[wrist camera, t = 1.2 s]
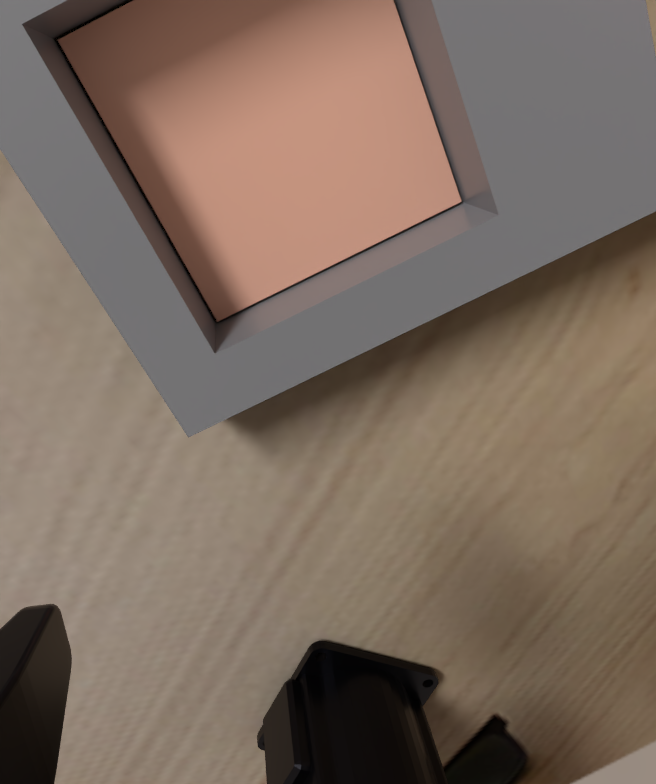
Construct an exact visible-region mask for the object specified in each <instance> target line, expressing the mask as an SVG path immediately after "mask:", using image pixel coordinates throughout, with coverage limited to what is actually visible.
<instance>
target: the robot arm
mask: <svg viewBox="0 0 656 784" xmlns="http://www.w3.org/2000/svg"><path fill="white" fill-rule="evenodd" d="M318 653H321V654H318ZM71 664H72V657H71V649H70V645H69V641H68V637H67V633H66V630H65V626H64V622H63V618H62V615H61V611H60V609H59V608H58V606H56V605H54V604H46V605H38V606H30V607H26V608H23V609H22V610H20V611H19V612H18V613H17V614H16V615H15V616H13V617H12V618H11V619H10V620H9V621H8V622H7V623H6V624H5V625H4V626H3V627H2V628H1V629H0V784H54V781H55V775H56V769H57V763H58V756H59V749H60V742H61V735H62V728H63V721H64V715H65V708H66V701H67V694H68V687H69V680H70V673H71ZM437 685H438V678H437V675H436V672H435V671H434V670H433V669H430V668H426V667H422V666H419V665H415V664H411V663H407V662H403V661H399V660H395V659H391V658H387V657H383V656H380V655H376V654H372V653H368V652H364V651H360V650H356V649H352V648H348V647H344V646H340V645H337V644H333V643H329V642H325V641H318V642H315V643H313V644H312V645H311V646H310V647H309V648H308V650H307V652H306V653H305V655H304V657H303V658H302V660H301V662H300V663H299V665H298V667H297V668H296V670H295V672H294V674H293V675H292V677H291V679H289V680H288V681H286V682H285V683H284V685H283V687H282V688H281V690H280V692H279V694H278V695H277V697H276V699H275V700H274V702H273V704H272V705H271V707H270V709H269V710H268V712H267V714H266V715H265V717H264V719H263V726H262V727H261V729H260V731H259V733H258V735H257V743H258V747H259V748H260V749H261V750H264V751H265V760H266V776H267V784H448V781H447V778H446V775H445V772H444V769H443V766H442V763H441V760H440V757H439V754H438V751H437V748H436V745H435V742H434V739H433V736H432V733H431V730H430V727H429V724H428V721H427V718H426V715H425V712H424V709H423V705H424V704H425V702H426V701H427V699H428V698H429V697H430V695H431V694H432V692H433V691H434V689H435V688H436V687H437Z"/></svg>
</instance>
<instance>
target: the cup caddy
mask: <svg viewBox="0 0 656 784" xmlns="http://www.w3.org/2000/svg"><path fill="white" fill-rule="evenodd" d="M127 1H129V0H0V150H1V151H2V153H3V154H4V156H5V157H6V159H7V160H8V162H9V163H10V165H11V166H12V168H13V169H14V171H15V173H16V174H17V176H18V177H19V179H20V180H21V182H22V183H23V185H24V186H25V188H26V189H27V191H28V192H29V194H30V196H31V197H32V199H33V200H34V202H35V203H36V205H37V206H38V208H39V209H40V211H41V212H42V214H43V215H44V217H45V219H46V220H47V222H48V223H49V225H50V226H51V228H52V229H53V231H54V232H55V234H56V235H57V237H58V238H59V240H60V241H61V243H62V245H63V246H64V248H65V249H66V251H67V252H68V254H69V255H70V257H71V258H72V260H73V261H74V263H75V264H76V266H77V268H78V269H79V271H80V272H81V274H82V275H83V277H84V278H85V280H86V281H87V283H88V284H89V286H90V287H91V289H92V291H93V292H94V294H95V295H96V297H97V298H98V300H99V301H100V303H101V304H102V306H103V307H104V309H105V310H106V312H107V314H108V315H109V317H110V318H111V320H112V321H113V323H114V324H115V326H116V327H117V329H118V330H119V332H120V333H121V335H122V337H123V338H124V340H125V341H126V343H127V344H128V346H129V347H130V349H131V350H132V352H133V353H134V355H135V356H136V358H137V359H138V361H139V363H140V364H141V366H142V367H143V369H144V370H145V372H146V373H147V375H148V376H149V378H150V379H151V381H152V382H153V384H154V386H155V387H156V389H157V390H158V392H159V393H160V395H161V396H162V398H163V399H164V401H165V402H166V404H167V405H168V407H169V409H170V410H171V412H172V413H173V415H174V416H175V418H176V419H177V421H178V422H179V424H180V425H181V427H182V428H183V430H184V432H185V433H186V435H187V436H188V437H190V436H192V435H194V434H196V433H199V432H201V431H203V430H205V429H207V428H209V427H211V426H213V425H215V424H217V423H219V422H221V421H223V420H225V419H228V418H230V417H232V416H234V415H236V414H238V413H240V412H242V411H244V410H246V409H248V408H250V407H252V406H254V405H256V404H259V403H261V402H263V401H265V400H267V399H269V398H271V397H273V396H275V395H277V394H279V393H281V392H283V391H285V390H287V389H290V388H292V387H294V386H296V385H298V384H300V383H302V382H304V381H306V380H308V379H310V378H312V377H314V376H316V375H318V374H321V373H323V372H325V371H327V370H329V369H331V368H333V367H335V366H337V365H339V364H341V363H343V362H345V361H347V360H350V359H352V358H354V357H356V356H358V355H360V354H362V353H364V352H366V351H368V350H370V349H372V348H374V347H376V346H378V345H381V344H383V343H385V342H387V341H389V340H391V339H393V338H395V337H397V336H399V335H401V334H403V333H405V332H407V331H409V330H412V329H414V328H416V327H418V326H420V325H422V324H424V323H426V322H428V321H430V320H432V319H434V318H436V317H438V316H440V315H443V314H445V313H447V312H449V311H451V310H453V309H455V308H457V307H459V306H461V305H463V304H465V303H467V302H469V301H472V300H474V299H476V298H478V297H480V296H482V295H484V294H486V293H488V292H490V291H492V290H494V289H496V288H498V287H500V286H503V285H505V284H507V283H509V282H511V281H513V280H515V279H517V278H519V277H521V276H523V275H525V274H527V273H529V272H531V271H534V270H536V269H538V268H540V267H542V266H544V265H546V264H548V263H550V262H552V261H554V260H556V259H558V258H560V257H562V256H565V255H567V254H569V253H571V252H573V251H575V250H577V249H579V248H581V247H583V246H585V245H587V244H589V243H591V242H594V241H596V240H598V239H600V238H602V237H604V236H606V235H608V234H610V233H612V232H614V231H616V230H618V229H620V228H622V227H625V226H627V225H629V224H631V223H633V222H635V221H637V220H639V219H641V218H643V217H645V216H647V215H649V214H651V213H653V212H656V56H655V51H654V45H653V39H652V34H651V28H650V22H649V17H648V11H647V5H646V0H133V1H131V2H129V3H127V4H125V5H124V6H122V7H120V8H118V9H116V10H114V11H112V12H110V13H108V14H106V15H104V16H102V17H100V18H99V19H97V20H95V21H93V22H91V23H89V24H87V25H85V26H83V27H81V28H79V29H77V30H76V31H74V32H72V33H70V34H68V35H66V36H64V37H62V38H60V39H58V42H59V44H60V45H61V47H62V49H63V51H64V52H65V54H66V56H67V58H68V59H69V61H70V63H71V65H72V66H73V68H74V70H75V72H76V74H77V75H78V77H79V79H80V81H81V82H82V84H83V86H84V88H85V89H86V91H87V93H88V95H89V96H90V98H91V100H92V102H93V103H94V105H95V107H96V109H97V110H98V112H99V114H100V116H101V118H102V119H103V121H104V123H105V125H106V126H107V128H108V130H109V132H110V133H111V135H112V137H113V139H114V140H115V142H116V144H117V146H118V147H119V149H120V151H121V153H122V154H123V156H124V158H125V160H126V162H127V163H128V165H129V167H130V169H131V170H132V172H133V174H134V176H135V177H136V179H137V181H138V183H139V184H140V186H141V188H142V190H143V191H144V193H145V195H146V197H147V198H148V200H149V202H150V204H151V206H152V207H153V209H154V211H155V213H156V214H157V216H158V218H159V220H160V221H161V223H162V225H163V227H164V228H165V230H166V232H167V234H168V235H169V237H170V239H171V241H172V242H173V244H174V246H175V248H176V250H177V251H178V253H179V255H180V257H181V258H182V260H183V262H184V264H185V265H186V267H187V269H188V271H189V272H190V274H191V276H192V278H193V279H194V281H195V283H196V285H197V286H198V288H199V290H200V292H201V294H202V295H203V297H204V299H205V301H206V302H207V304H208V306H209V308H210V309H211V311H212V313H213V315H214V316H215V318H216V320H217V323H216V321H215V320H214V318H213V316H212V314H211V313H210V311H209V309H208V307H207V306H206V304H205V302H204V300H203V299H202V297H201V295H200V293H199V291H198V290H197V288H196V286H195V284H194V283H193V281H192V279H191V277H190V276H189V274H188V272H187V270H186V269H185V267H184V265H183V263H182V262H181V260H180V258H179V256H178V255H177V253H176V251H175V249H174V248H173V246H172V244H171V242H170V241H169V239H168V237H167V235H166V234H165V232H164V230H163V228H162V227H161V225H160V223H159V221H158V219H157V218H156V216H155V214H154V212H153V211H152V209H151V207H150V205H149V204H148V202H147V200H146V198H145V197H144V195H143V193H142V191H141V190H140V188H139V186H138V184H137V183H136V181H135V179H134V177H133V176H132V174H131V172H130V170H129V169H128V167H127V165H126V163H125V162H124V160H123V158H122V156H121V155H120V153H119V151H118V149H117V148H116V146H115V144H114V142H113V140H112V139H111V137H110V135H109V133H108V132H107V130H106V128H105V126H104V125H103V123H102V121H101V119H100V118H99V116H98V114H97V112H96V111H95V109H94V107H93V105H92V104H91V102H90V100H89V98H88V97H87V95H86V93H85V91H84V90H83V88H82V86H81V84H80V83H79V81H78V79H77V77H76V76H75V74H74V72H73V70H72V69H71V67H70V65H69V63H68V61H67V60H66V58H65V56H64V54H63V53H62V51H61V49H60V47H59V46H58V44H57V42H56V40H55V39H56V38H58V37H59V36H61V35H63V34H65V33H67V32H69V31H71V30H73V29H75V28H77V27H79V26H81V25H82V24H84V23H86V22H88V21H90V20H92V19H94V18H96V17H98V16H100V15H102V14H104V13H106V12H107V11H109V10H111V9H113V8H115V7H117V6H119V5H121V4H123V3H125V2H127ZM394 2H395V3H394ZM395 4H396V6H395ZM396 7H397V9H396ZM397 10H398V12H397ZM398 13H399V15H398ZM399 16H400V18H399ZM400 19H401V21H400ZM401 22H402V24H401ZM402 25H403V27H402ZM403 28H404V30H403ZM404 31H405V33H404ZM405 34H406V36H405ZM406 37H407V39H406ZM407 40H408V42H407ZM408 43H409V44H408ZM409 46H410V47H409ZM410 49H411V50H410ZM411 52H412V53H411ZM412 55H413V56H412ZM413 58H414V59H413ZM414 61H415V62H414ZM415 64H416V65H415ZM416 67H417V68H416ZM417 70H418V71H417ZM418 73H419V74H418ZM419 75H420V77H419ZM420 78H421V80H420ZM421 81H422V83H421ZM422 84H423V86H422ZM423 87H424V89H423ZM424 90H425V92H424ZM425 93H426V95H425ZM426 96H427V98H426ZM427 99H428V101H427ZM428 102H429V104H428ZM429 105H430V107H429ZM430 108H431V110H430ZM431 111H432V112H431ZM432 114H433V115H432ZM433 117H434V118H433ZM434 120H435V121H434ZM435 123H436V124H435ZM436 126H437V127H436ZM437 129H438V130H437ZM438 132H439V133H438ZM439 135H440V136H439ZM440 138H441V139H440ZM441 141H442V142H441ZM442 144H443V145H442ZM443 146H444V148H443ZM444 149H445V151H444ZM445 152H446V154H445ZM446 155H447V157H446ZM447 158H448V160H447ZM448 161H449V163H448ZM449 164H450V166H449ZM450 167H451V169H450ZM451 170H452V172H451ZM452 173H453V175H452ZM453 176H454V177H453ZM454 179H455V180H454ZM455 182H456V183H455ZM456 185H457V186H456ZM457 188H458V189H457ZM458 191H459V192H458ZM459 194H460V195H459ZM460 197H461V198H460ZM461 200H462V201H461ZM460 202H461V203H460ZM458 203H459V204H458ZM456 204H457V205H456ZM454 205H455V206H454ZM452 206H453V207H452ZM450 207H451V208H450ZM447 208H449V209H447ZM445 209H447V210H445ZM443 210H445V211H443ZM441 211H443V212H441ZM439 212H441V213H439ZM437 213H439V214H437ZM435 214H437V215H435ZM433 215H435V216H433ZM431 216H433V217H431ZM429 217H430V218H429ZM427 218H428V219H427ZM425 219H426V220H425ZM423 220H424V221H423ZM421 221H422V222H421ZM419 222H420V223H419ZM417 223H418V224H417ZM415 224H416V225H415ZM413 225H414V226H413ZM411 226H412V227H411ZM409 227H410V228H409ZM407 228H408V229H407ZM405 229H406V230H405ZM403 230H404V231H403ZM401 231H402V232H401ZM399 232H400V233H399ZM397 233H398V234H397ZM395 234H396V235H395ZM393 235H394V236H393ZM391 236H392V237H391ZM389 237H390V238H389ZM386 238H388V239H386ZM384 239H386V240H384ZM382 240H384V241H382ZM380 241H382V242H380ZM378 242H380V243H378ZM376 243H378V244H376ZM374 244H376V245H374ZM372 245H374V246H372ZM370 246H372V247H370ZM368 247H369V248H368ZM366 248H367V249H366ZM364 249H365V250H364ZM362 250H363V251H362ZM360 251H361V252H360ZM358 252H359V253H358ZM356 253H357V254H356ZM354 254H355V255H354ZM352 255H353V256H352ZM350 256H351V257H350ZM348 257H349V258H348ZM346 258H347V259H346ZM344 259H345V260H344ZM342 260H343V261H342ZM340 261H341V262H340ZM338 262H339V263H338ZM336 263H337V264H336ZM334 264H335V265H334ZM332 265H333V266H332ZM330 266H331V267H330ZM327 267H329V268H327ZM325 268H327V269H325ZM323 269H325V270H323ZM321 270H323V271H321ZM319 271H321V272H319ZM317 272H319V273H317ZM315 273H317V274H315ZM313 274H315V275H313ZM311 275H313V276H311ZM309 276H311V277H309ZM307 277H308V278H307ZM305 278H306V279H305ZM303 279H304V280H303ZM301 280H302V281H301ZM299 281H300V282H299ZM297 282H298V283H297ZM295 283H296V284H295ZM293 284H294V285H293ZM291 285H292V286H291ZM289 286H290V287H289ZM287 287H288V288H287ZM285 288H286V289H285ZM283 289H284V290H283ZM281 290H282V291H281ZM279 291H280V292H279ZM277 292H278V293H277ZM275 293H276V294H275ZM273 294H274V295H273ZM271 295H272V296H271ZM269 296H270V297H269ZM266 297H268V298H266ZM264 298H266V299H264ZM262 299H264V300H262ZM260 300H262V301H260ZM258 301H260V302H258ZM256 302H258V303H256ZM254 303H256V304H254ZM252 304H254V305H252ZM250 305H252V306H250ZM248 306H249V307H248ZM246 307H247V308H246ZM244 308H245V309H244ZM242 309H243V310H242ZM240 310H241V311H240ZM238 311H239V312H238ZM236 312H237V313H236ZM234 313H235V314H234ZM232 314H233V315H232ZM230 315H231V316H230ZM228 316H229V317H228ZM226 317H227V318H226ZM224 318H225V319H224ZM222 319H223V320H222ZM220 320H221V321H220ZM218 321H219V322H218Z"/></svg>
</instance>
